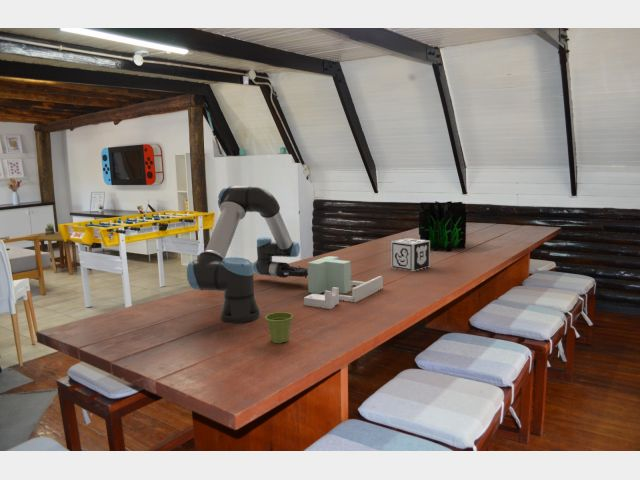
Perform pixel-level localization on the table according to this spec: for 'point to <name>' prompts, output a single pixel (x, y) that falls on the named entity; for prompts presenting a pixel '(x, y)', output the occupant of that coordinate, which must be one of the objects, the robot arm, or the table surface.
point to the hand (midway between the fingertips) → (319, 274)
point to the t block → (329, 275)
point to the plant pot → (279, 326)
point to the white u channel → (363, 289)
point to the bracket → (323, 299)
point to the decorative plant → (443, 225)
